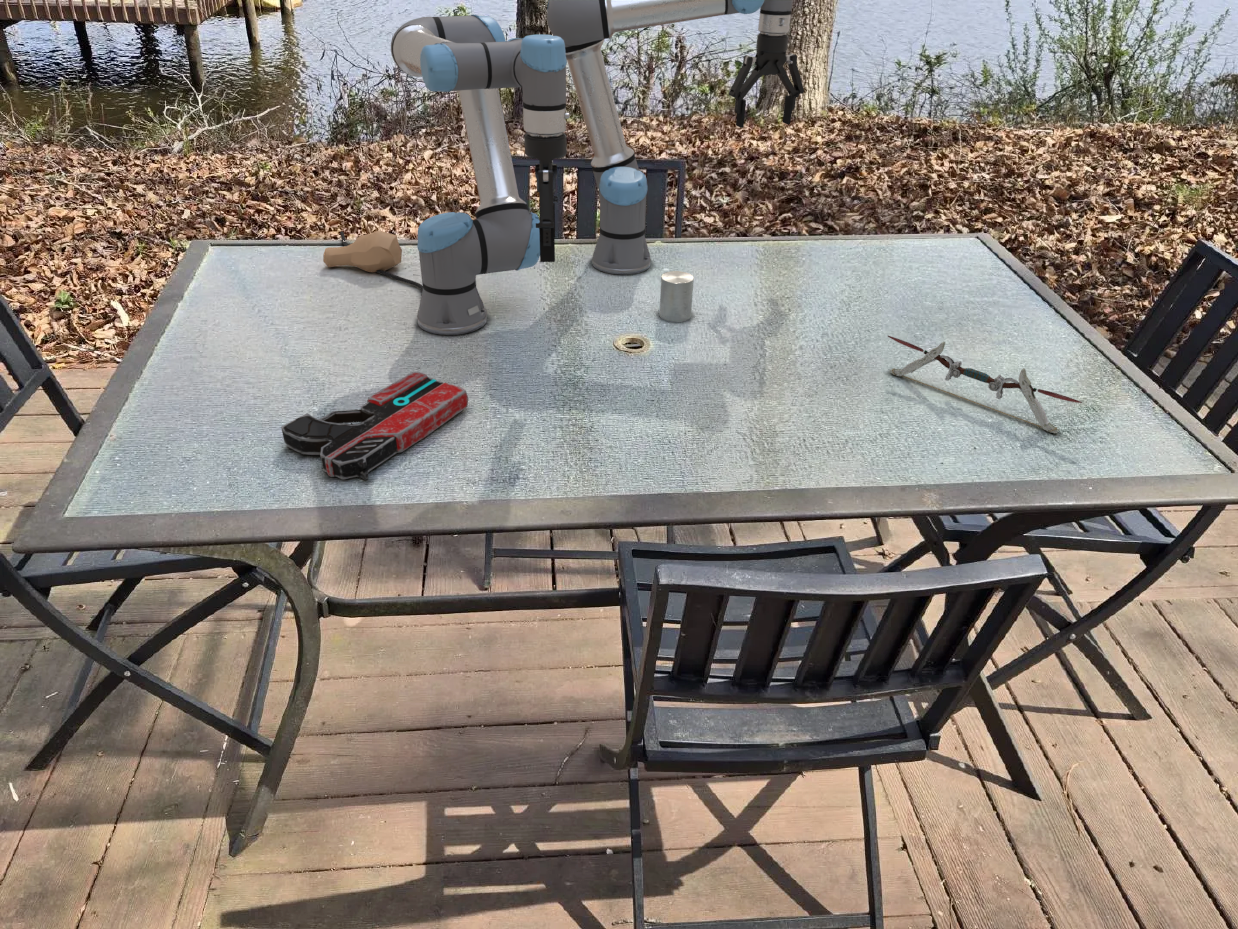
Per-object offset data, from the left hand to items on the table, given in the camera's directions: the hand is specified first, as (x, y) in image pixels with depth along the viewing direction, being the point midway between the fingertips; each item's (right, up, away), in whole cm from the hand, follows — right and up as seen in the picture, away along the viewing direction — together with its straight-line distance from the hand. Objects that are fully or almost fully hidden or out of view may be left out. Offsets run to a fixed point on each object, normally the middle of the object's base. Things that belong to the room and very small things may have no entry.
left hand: (548, 248), depth 167 cm
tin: (+27, -7, +36) cm, 45 cm away
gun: (-30, -35, -9) cm, 47 cm away
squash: (-51, +9, +55) cm, 76 cm away
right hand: (+50, +46, +57) cm, 89 cm away
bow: (+82, -29, +5) cm, 87 cm away
